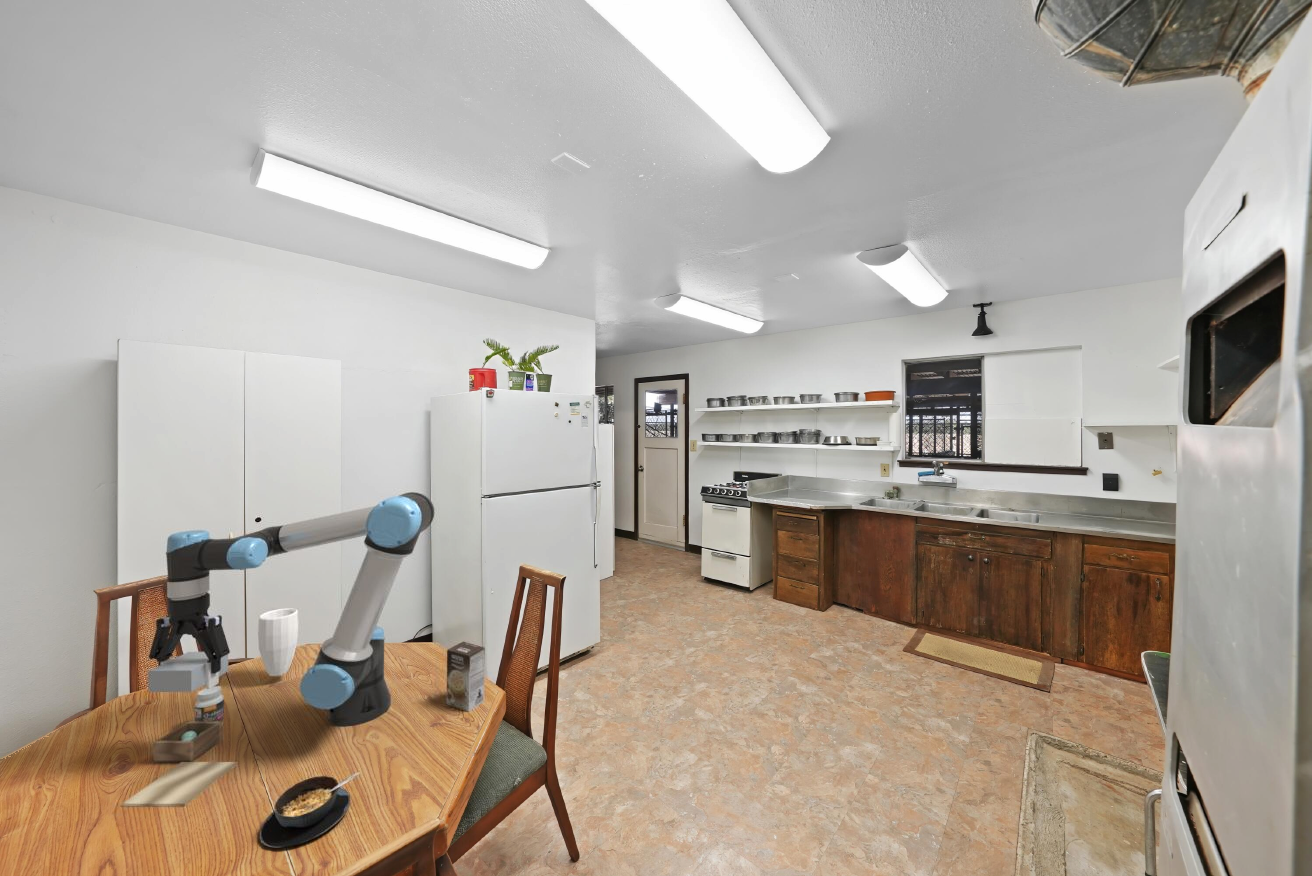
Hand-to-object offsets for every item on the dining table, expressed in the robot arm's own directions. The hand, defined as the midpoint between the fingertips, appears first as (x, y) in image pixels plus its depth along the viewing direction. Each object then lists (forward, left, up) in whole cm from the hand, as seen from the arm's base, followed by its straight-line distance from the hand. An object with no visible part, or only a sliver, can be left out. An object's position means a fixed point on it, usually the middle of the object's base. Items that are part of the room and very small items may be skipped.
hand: (190, 686), depth 120 cm
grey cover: (0, 0, +1) cm, 1 cm away
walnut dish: (0, 0, -16) cm, 16 cm away
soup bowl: (-44, +21, -17) cm, 51 cm away
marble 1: (+2, -2, -15) cm, 16 cm away
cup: (+4, -34, -16) cm, 38 cm away
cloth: (-9, +11, -16) cm, 21 cm away
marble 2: (0, +2, -15) cm, 15 cm away
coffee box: (-59, -22, -16) cm, 65 cm away
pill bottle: (+4, -10, -16) cm, 20 cm away
